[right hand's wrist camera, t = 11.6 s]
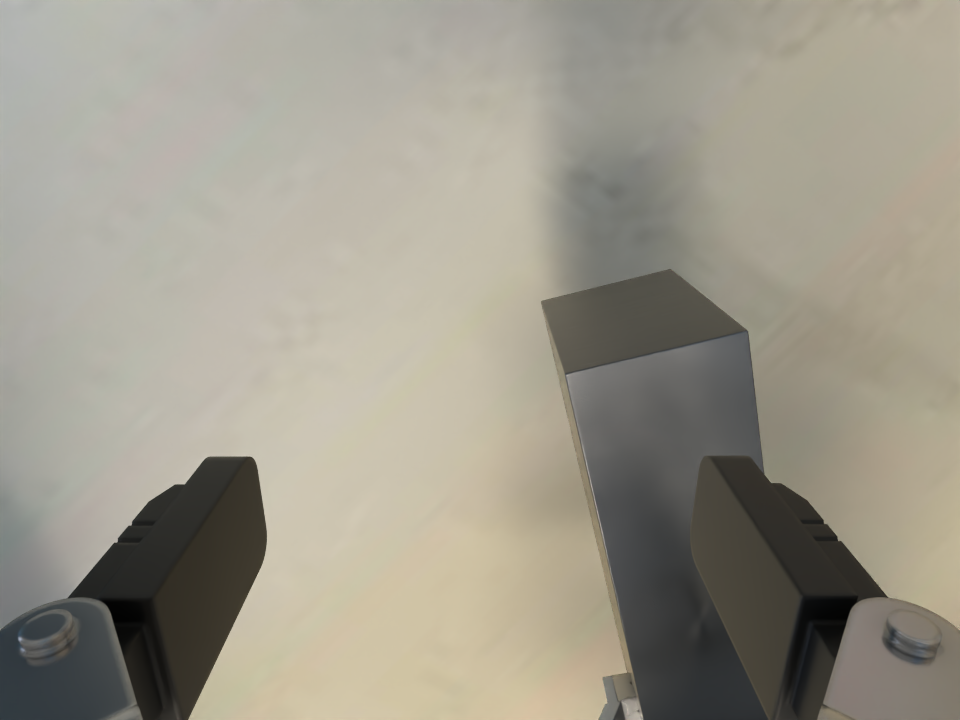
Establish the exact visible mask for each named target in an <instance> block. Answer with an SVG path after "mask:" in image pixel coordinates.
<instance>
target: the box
mask: <svg viewBox="0 0 960 720" xmlns="http://www.w3.org/2000/svg"><path fill="white" fill-rule="evenodd" d="M541 304H542V309H543V313H544V317H545V322H546V326H547V330H548V335H549V339H550V343H551V347H552V352H553V356H554V360H555V365H556V369H557V373H558V378H559V382H560V386H561V390H562V395H563V399H564V403H565V408H566V412H567V416H568V421H569V425H570V429H571V433H572V438H573V442H574V446H575V451H576V455H577V459H578V464H579V468H580V472H581V476H582V481H583V485H584V489H585V494H586V498H587V502H588V507H589V511H590V515H591V519H592V524H593V528H594V532H595V537H596V541H597V545H598V550H599V554H600V558H601V562H602V567H603V571H604V575H605V580H606V584H607V588H608V593H609V597H610V601H611V605H612V610H613V614H614V618H615V623H616V627H617V631H618V636H619V640H620V644H621V648H622V653H623V657H624V661H625V666H626V670H627V673H629V674H630V678H631V682H632V685H633V689H634V693H635V697H636V701H637V705H638V710H639V714H640V718H641V720H768V718H767V715H766V713H765V711H764V709H763V707H762V705H761V703H760V701H759V699H758V696H757V694H756V692H755V690H754V688H753V686H752V684H751V682H750V679H749V677H748V675H747V673H746V671H745V669H744V667H743V665H742V663H741V660H740V658H739V656H738V654H737V652H736V650H735V648H734V646H733V643H732V641H731V639H730V637H729V635H728V633H727V631H726V629H725V627H724V624H723V622H722V620H721V618H720V616H719V614H718V612H717V610H716V607H715V605H714V603H713V601H712V599H711V597H710V595H709V593H708V591H707V588H706V586H705V584H704V582H703V580H702V578H701V576H700V574H699V571H698V569H697V567H696V565H695V563H694V560H693V556H692V551H691V544H690V527H691V520H692V513H693V506H694V500H695V493H696V486H697V479H698V472H699V467H700V463H701V460H702V459H703V457H704V456H749V457H751V458H752V459H753V461H754V462H755V463H756V465H757V466H758V467H759V468H760V470H761V471H762V472H763V474H764V468H763V459H762V450H761V441H760V433H759V424H758V415H757V406H756V397H755V388H754V379H753V371H752V362H751V353H750V344H749V335H748V331H747V330H746V329H745V328H744V327H742V326H741V325H740V324H739V323H737V322H736V321H735V320H734V319H733V318H731V317H730V316H729V315H728V314H726V313H725V312H724V311H723V310H721V309H720V308H719V307H718V306H716V305H715V304H714V303H713V302H711V301H710V300H709V299H708V298H706V297H705V296H704V295H703V294H701V293H700V292H699V291H698V290H696V289H695V288H694V287H693V286H691V285H690V284H689V283H688V282H686V281H685V280H684V279H683V278H681V277H680V276H679V275H678V274H676V273H675V272H674V271H673V270H671V269H668V270H664V271H660V272H656V273H652V274H648V275H644V276H640V277H636V278H632V279H628V280H624V281H620V282H616V283H612V284H608V285H604V286H600V287H596V288H592V289H588V290H584V291H580V292H576V293H572V294H568V295H564V296H560V297H556V298H552V299H548V300H543V301H541Z"/></svg>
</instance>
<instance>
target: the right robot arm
mask: <svg viewBox="0 0 960 720" xmlns="http://www.w3.org/2000/svg"><path fill="white" fill-rule="evenodd" d="M266 543H267V530H266V523H265V516H264V509H263V503H262V496H261V489H260V482H259V476H258V469H257V465H256V462H255V460H254V459H253V458H252V457H207V458H206V459H205V460H204V461H203V462H202V463H201V465H200V466H199V467H198V468H197V470H196V471H195V472H194V474H193V475H192V476H191V477H190V479H189V480H188V481H187V482H186V484H185V485H174V486H172V487H171V488H169V489H168V490H166V491H165V492H163V493H161V494H160V495H158V496H157V497H155V498H154V499H152V500H151V501H149V502H148V503H147V505H146V506H145V507H144V508H143V509H142V510H141V512H140V513H139V514H138V515H137V516H136V518H135V519H134V520H133V521H132V526H128V527H127V528H126V529H125V531H124V532H123V533H122V534H121V535H120V537H119V538H118V542H117V543H114V544H113V545H112V546H111V547H110V548H109V550H108V551H107V552H106V553H105V554H104V556H103V557H102V558H101V559H100V560H99V562H98V563H97V564H96V565H95V566H94V567H93V569H92V570H91V571H90V572H89V573H88V575H87V576H86V577H85V578H84V579H83V581H82V582H81V583H80V584H79V585H78V586H77V588H76V589H75V590H74V591H73V592H72V594H71V595H70V596H69V597H68V598H67V599H62V600H58V601H54V602H51V603H48V604H45V605H42V606H40V607H37V608H35V609H32V610H31V611H29V612H27V613H25V614H23V615H21V616H19V617H18V618H16V619H15V620H13V621H12V622H10V623H9V624H8V625H6V626H5V627H4V628H3V629H1V630H0V720H188V719H189V716H190V714H191V712H192V710H193V708H194V706H195V704H196V702H197V700H198V698H199V696H200V693H201V691H202V689H203V687H204V685H205V683H206V681H207V679H208V677H209V675H210V673H211V670H212V668H213V666H214V664H215V662H216V660H217V658H218V656H219V654H220V652H221V650H222V647H223V645H224V643H225V641H226V639H227V637H228V635H229V633H230V631H231V629H232V627H233V624H234V622H235V620H236V618H237V616H238V614H239V612H240V610H241V608H242V606H243V604H244V601H245V599H246V597H247V595H248V593H249V591H250V589H251V587H252V585H253V583H254V580H255V578H256V576H257V574H258V572H259V570H260V568H261V566H262V563H263V560H264V556H265V551H266ZM690 544H691V551H692V556H693V560H694V563H695V565H696V567H697V569H698V571H699V574H700V576H701V578H702V580H703V582H704V584H705V586H706V588H707V591H708V593H709V595H710V597H711V599H712V601H713V603H714V605H715V607H716V610H717V612H718V614H719V616H720V618H721V620H722V622H723V624H724V627H725V629H726V631H727V633H728V635H729V637H730V639H731V641H732V643H733V646H734V648H735V650H736V652H737V654H738V656H739V658H740V660H741V663H742V665H743V667H744V669H745V671H746V673H747V675H748V677H749V679H750V682H751V684H752V686H753V688H754V690H755V692H756V694H757V696H758V699H759V701H760V703H761V705H762V707H763V709H764V711H765V713H766V715H767V718H768V720H960V630H959V629H957V628H956V627H955V626H954V625H952V624H951V623H950V622H948V621H947V620H945V619H944V618H942V617H941V616H939V615H937V614H935V613H933V612H931V611H929V610H928V609H925V608H923V607H920V606H918V605H915V604H912V603H909V602H906V601H902V600H898V599H892V598H888V597H887V596H886V594H885V593H884V592H883V591H882V590H881V588H880V587H879V586H878V585H877V584H876V582H875V581H874V580H873V579H872V578H871V576H870V575H869V574H868V573H867V572H866V570H865V569H864V568H863V567H862V566H861V564H860V563H859V562H858V561H857V560H856V558H855V557H854V556H853V555H852V554H851V552H850V551H849V550H848V549H847V548H846V546H845V545H844V544H843V543H842V542H841V541H838V539H837V536H836V534H835V533H834V532H833V531H832V530H831V529H830V527H829V526H828V525H827V524H824V520H823V519H822V518H821V517H820V515H819V514H818V513H817V512H816V511H815V509H814V508H813V507H812V506H811V505H810V503H809V502H808V501H807V500H806V499H804V498H803V497H801V496H800V495H798V494H796V493H795V492H793V491H792V490H790V489H789V488H787V487H786V486H784V485H783V484H781V483H770V481H769V480H768V479H767V477H766V476H765V475H764V474H763V472H762V471H761V470H760V468H759V467H758V466H757V465H756V463H755V462H754V461H753V459H752V458H751V457H749V456H704V457H703V459H702V460H701V463H700V467H699V472H698V479H697V486H696V493H695V500H694V506H693V513H692V520H691V527H690Z"/></svg>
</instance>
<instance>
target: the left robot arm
mask: <svg viewBox="0 0 960 720" xmlns="http://www.w3.org/2000/svg"><path fill="white" fill-rule="evenodd" d="M612 677H613V678H612ZM613 681H614V682H613ZM603 683H604V687H605V692H606V697H607V701H608V704H605V706H604V708H603V711H602V713H601V715H600V718H599V720H641V718H640V714H639V710H638V705H637V701H636V697H635V693H634V689H633V685H632V682H631V678H630V674H629V673H624V674H618V675H612V676H606V677H603Z"/></svg>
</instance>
